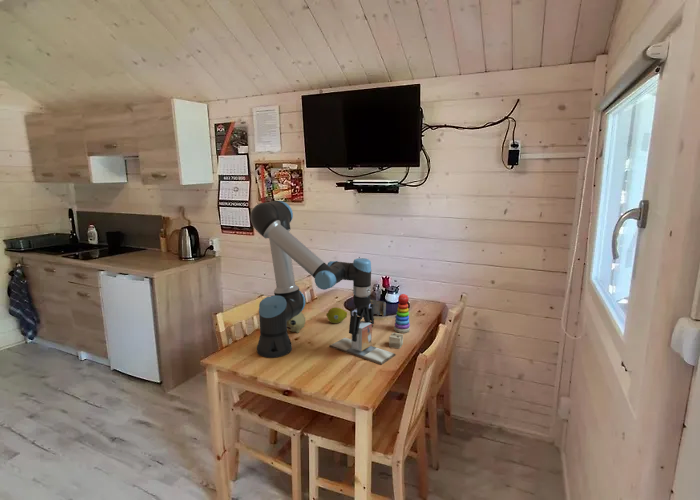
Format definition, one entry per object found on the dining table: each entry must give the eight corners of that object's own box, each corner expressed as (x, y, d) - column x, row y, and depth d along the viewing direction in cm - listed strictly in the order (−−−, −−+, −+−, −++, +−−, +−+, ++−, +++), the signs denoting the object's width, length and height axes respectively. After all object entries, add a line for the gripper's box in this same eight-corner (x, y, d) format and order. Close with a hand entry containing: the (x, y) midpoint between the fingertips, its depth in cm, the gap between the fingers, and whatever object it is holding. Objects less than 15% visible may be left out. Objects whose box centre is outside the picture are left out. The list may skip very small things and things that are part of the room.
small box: (361, 351, 178) (361, 328, 176) (351, 348, 181) (351, 325, 179) (372, 345, 184) (372, 323, 182) (361, 342, 187) (362, 320, 185)
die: (399, 348, 185) (400, 338, 184) (389, 347, 187) (389, 336, 186) (402, 344, 190) (403, 334, 189) (392, 342, 192) (392, 332, 191)
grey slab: (364, 313, 230) (364, 296, 228) (367, 312, 232) (367, 295, 230) (383, 317, 224) (383, 300, 222) (385, 315, 227) (385, 298, 225)
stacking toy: (391, 331, 204) (392, 295, 200) (397, 326, 211) (398, 290, 207) (406, 334, 200) (407, 297, 197) (412, 328, 207) (413, 292, 204)
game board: (381, 364, 170) (381, 362, 170) (329, 346, 187) (329, 344, 187) (395, 355, 179) (395, 353, 179) (344, 338, 196) (344, 336, 195)
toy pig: (278, 334, 201) (277, 313, 199) (292, 325, 211) (292, 305, 209) (295, 338, 196) (294, 316, 194) (309, 329, 207) (308, 308, 205)
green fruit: (324, 324, 213) (324, 309, 212) (328, 318, 221) (328, 304, 219) (344, 326, 211) (344, 311, 209) (348, 320, 218) (348, 306, 216)
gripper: (354, 302, 167) (354, 355, 172) (382, 290, 183) (381, 338, 188) (339, 299, 172) (340, 350, 176) (368, 287, 188) (368, 334, 193)
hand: (361, 344), depth 182 cm, fingers closed on small box, 8 cm apart
